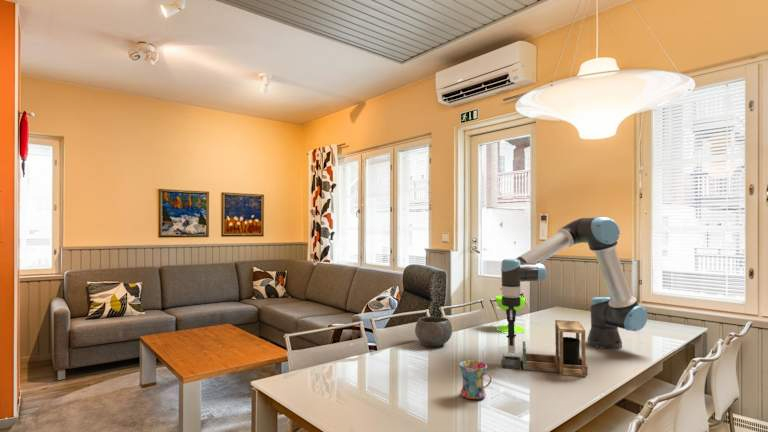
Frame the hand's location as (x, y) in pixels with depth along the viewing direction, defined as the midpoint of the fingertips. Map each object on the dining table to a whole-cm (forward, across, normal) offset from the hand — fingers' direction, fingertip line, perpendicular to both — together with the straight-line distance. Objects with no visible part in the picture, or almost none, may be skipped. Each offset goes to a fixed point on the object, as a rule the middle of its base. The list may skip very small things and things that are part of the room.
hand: (511, 352), depth 179 cm
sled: (+4, 0, +16) cm, 17 cm away
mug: (+5, +40, -11) cm, 42 cm away
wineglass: (+5, -62, -1) cm, 62 cm away
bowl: (+5, -20, -36) cm, 42 cm away
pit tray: (+5, 0, 0) cm, 5 cm away
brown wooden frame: (+5, 0, +23) cm, 23 cm away
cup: (+5, 0, +23) cm, 23 cm away
